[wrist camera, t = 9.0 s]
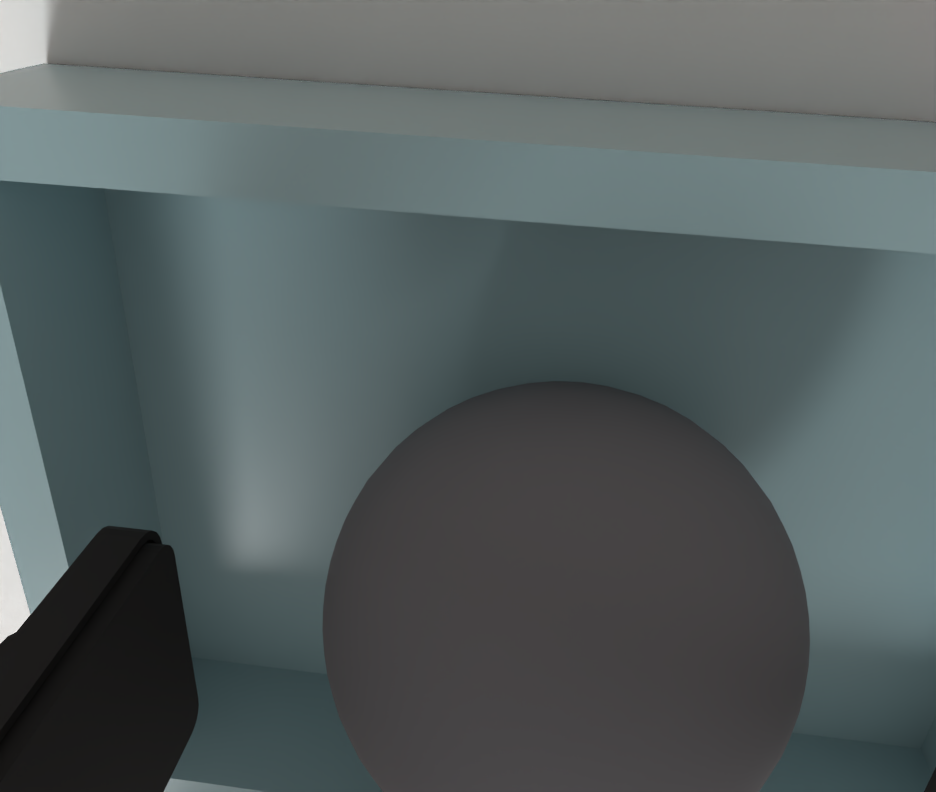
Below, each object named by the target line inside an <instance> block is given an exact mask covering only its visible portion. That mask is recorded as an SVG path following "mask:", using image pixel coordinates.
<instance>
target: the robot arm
mask: <svg viewBox="0 0 936 792" xmlns="http://www.w3.org/2000/svg"><path fill="white" fill-rule="evenodd" d="M198 708H199V701H198V693H197V687H196V681H195V675H194V669H193V663H192V657H191V651H190V645H189V639H188V632H187V626H186V620H185V614H184V608H183V602H182V596H181V590H180V584H179V578H178V571H177V565H176V559H175V554H174V550H173V548H172V547H171V546H170V545H165V544H162V541H161V538H160V536H159V534H158V533H157V532H155V531H152V530H143V529H134V528H125V527H117V526H106V527H104V528H102V529H101V530H100V531H99V532H98V533H97V534H96V535H95V536H94V538H93V539H92V540H91V541H90V542H89V544H88V545H87V546H86V547H85V549H84V550H83V551H82V552H81V553H80V555H79V556H78V557H77V558H76V560H75V561H74V562H73V563H72V565H71V566H70V567H69V568H68V569H67V571H66V572H65V573H64V574H63V576H62V577H61V578H60V579H59V581H58V582H57V583H56V584H55V585H54V587H53V588H52V589H51V590H50V592H49V593H48V594H47V595H46V596H45V598H44V599H43V600H42V601H41V603H40V604H39V605H38V606H37V608H36V609H35V610H34V611H33V612H32V614H31V615H30V616H29V617H28V619H27V620H26V621H25V622H24V624H23V625H22V626H21V627H20V628H19V630H18V631H17V632H16V633H14V634H12V635H10V636H8V637H7V638H6V639H5V640H4V641H3V642H2V643H1V644H0V792H164V790H165V788H166V786H167V784H168V782H169V780H170V778H171V776H172V774H173V772H174V769H175V767H176V765H177V763H178V761H179V759H180V757H181V755H182V753H183V751H184V749H185V747H186V745H187V743H188V741H189V739H190V737H191V735H192V732H193V730H194V727H195V724H196V721H197V716H198ZM924 792H936V768H935V770H934V772H933V774H932V776H931V778H930V780H929V782H928V784H927V786H926V788H925V790H924Z"/></svg>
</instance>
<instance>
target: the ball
mask: <svg viewBox="0 0 936 792" xmlns="http://www.w3.org/2000/svg"><path fill="white" fill-rule="evenodd" d="M322 631H323V644H324V656H325V663H326V670H327V676H328V680H329V684H330V688H331V691H332V695H333V699H334V702H335V705H336V708H337V712H338V715H339V718H340V720H341V722H342V724H343V727H344V729H345V731H346V733H347V735H348V737H349V739H350V741H351V743H352V745H353V747H354V749H355V751H356V753H357V755H358V757H359V759H360V761H361V762H362V764H363V765H364V766H365V768H366V769H367V771H368V772H369V774H370V775H371V777H372V778H373V779H374V781H375V782H376V783H377V785H378V786H379V787H380V789H381V790H382V791H383V792H759V791H760V789H761V788H762V787H763V785H764V784H765V782H766V781H767V779H768V778H769V776H770V774H771V773H772V771H773V770H774V768H775V767H776V765H777V763H778V762H779V760H780V759H781V757H782V755H783V753H784V750H785V748H786V746H787V744H788V741H789V739H790V737H791V734H792V732H793V729H794V726H795V724H796V721H797V718H798V716H799V712H800V708H801V704H802V700H803V696H804V692H805V686H806V680H807V674H808V668H809V652H810V628H809V613H808V606H807V598H806V591H805V587H804V583H803V579H802V574H801V570H800V567H799V564H798V561H797V558H796V555H795V551H794V548H793V545H792V543H791V541H790V539H789V536H788V534H787V532H786V530H785V528H784V526H783V524H782V522H781V520H780V518H779V516H778V514H777V512H776V510H775V508H774V506H773V505H772V503H771V501H770V500H769V498H768V497H767V496H766V494H765V493H764V492H763V490H762V489H761V488H760V486H759V485H758V484H757V482H756V481H755V479H754V478H753V477H752V476H751V474H750V473H749V472H748V470H747V469H746V468H745V466H744V465H743V464H742V463H741V462H740V461H739V460H738V459H737V458H736V457H735V456H734V455H733V454H732V453H731V452H730V451H729V450H728V449H727V448H726V447H725V446H724V445H723V444H722V443H720V442H719V441H718V440H716V439H715V438H714V437H713V436H711V435H710V434H709V433H707V432H706V431H705V430H703V429H702V428H701V427H699V426H698V425H697V424H695V423H694V422H693V421H691V420H690V419H688V418H687V417H685V416H683V415H681V414H679V413H678V412H676V411H674V410H672V409H671V408H669V407H667V406H665V405H663V404H660V403H658V402H655V401H653V400H650V399H648V398H646V397H643V396H641V395H638V394H634V393H631V392H627V391H623V390H620V389H616V388H613V387H609V386H604V385H597V384H591V383H584V382H568V381H548V382H535V383H526V384H521V385H516V386H511V387H506V388H501V389H497V390H494V391H491V392H487V393H484V394H481V395H478V396H475V397H472V398H470V399H468V400H466V401H463V402H461V403H459V404H457V405H455V406H453V407H451V408H449V409H447V410H445V411H444V412H442V413H441V414H439V415H437V416H436V417H434V418H433V419H431V420H430V421H428V422H427V423H425V424H424V425H422V426H421V427H419V428H418V429H417V430H415V431H414V432H413V433H412V434H410V435H409V436H408V437H407V438H406V439H405V440H403V441H402V442H401V443H400V444H399V445H398V446H397V447H395V449H394V450H393V451H392V452H391V453H390V454H389V456H388V457H387V458H386V459H385V460H384V461H383V463H382V464H381V465H380V466H379V467H378V468H377V470H376V471H375V472H374V473H373V474H372V475H371V477H370V478H369V479H368V480H367V482H366V484H365V485H364V487H363V488H362V490H361V492H360V493H359V495H358V497H357V498H356V500H355V502H354V504H353V505H352V507H351V509H350V511H349V513H348V515H347V517H346V519H345V521H344V524H343V526H342V529H341V531H340V534H339V536H338V539H337V541H336V545H335V548H334V551H333V554H332V558H331V561H330V566H329V570H328V575H327V580H326V585H325V594H324V603H323V627H322Z"/></svg>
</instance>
